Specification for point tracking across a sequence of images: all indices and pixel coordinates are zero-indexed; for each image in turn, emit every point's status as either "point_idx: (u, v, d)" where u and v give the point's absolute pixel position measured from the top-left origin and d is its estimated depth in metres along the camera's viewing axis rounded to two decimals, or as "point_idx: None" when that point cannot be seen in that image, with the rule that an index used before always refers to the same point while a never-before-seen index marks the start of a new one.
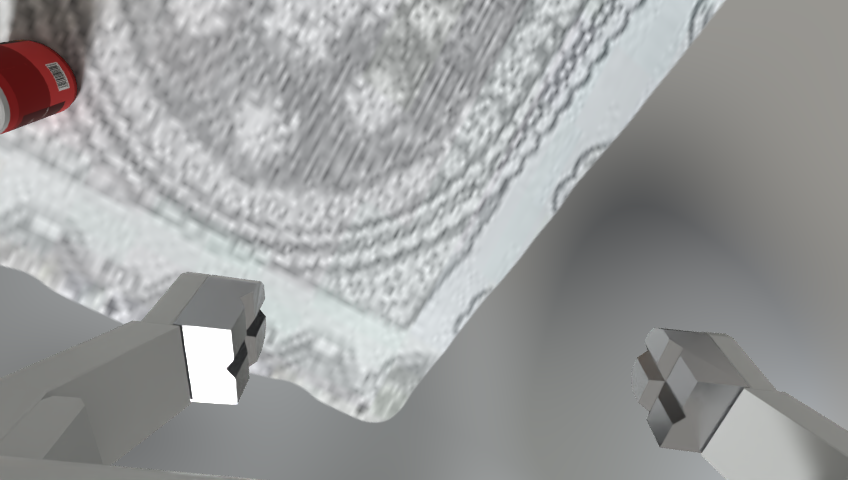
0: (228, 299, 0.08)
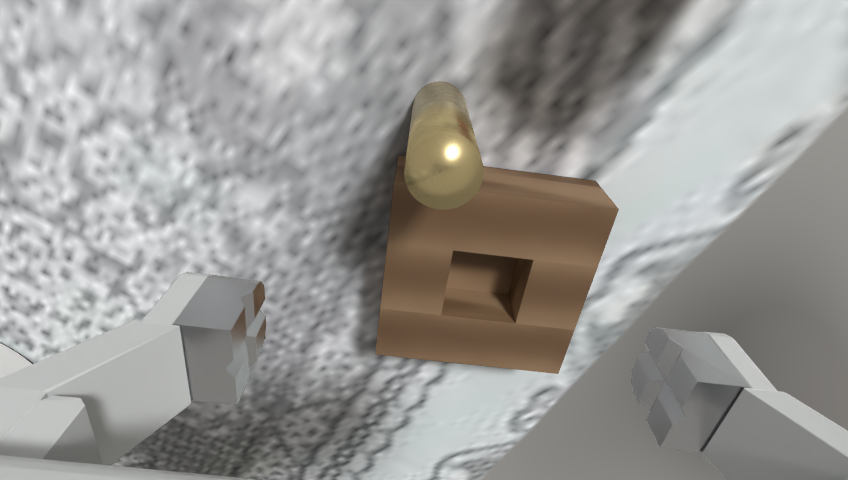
0: (228, 299, 0.08)
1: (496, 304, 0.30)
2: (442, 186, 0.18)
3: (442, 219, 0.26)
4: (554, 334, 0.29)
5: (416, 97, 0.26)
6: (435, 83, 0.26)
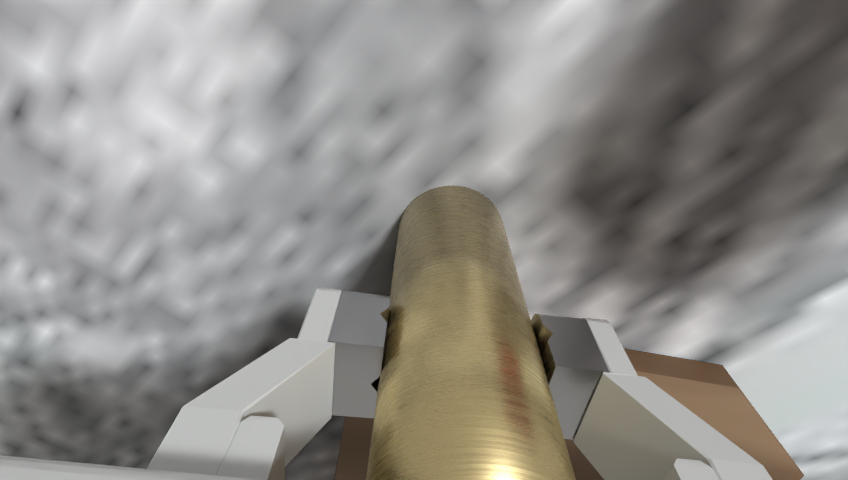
0: (369, 315, 0.09)
1: None
2: None
3: None
4: None
5: (406, 218, 0.12)
6: (447, 192, 0.12)
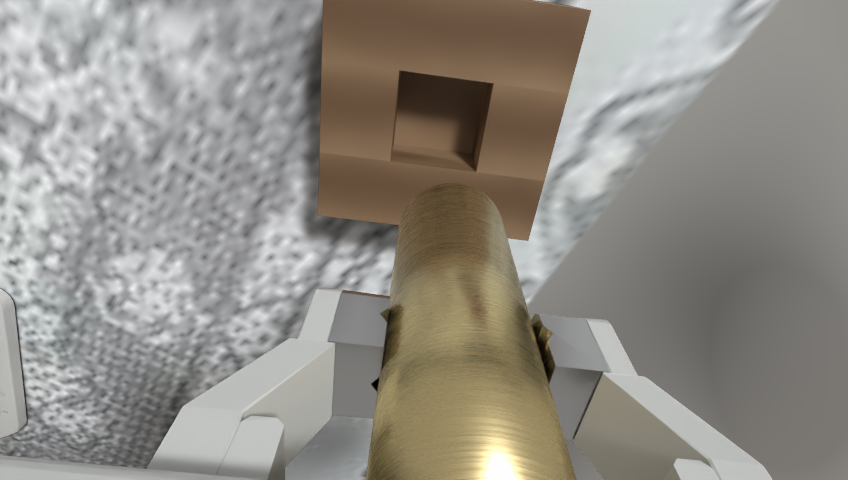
0: (369, 315, 0.09)
1: (456, 158, 0.27)
2: None
3: (384, 26, 0.22)
4: (521, 186, 0.26)
5: (407, 215, 0.13)
6: (447, 189, 0.13)
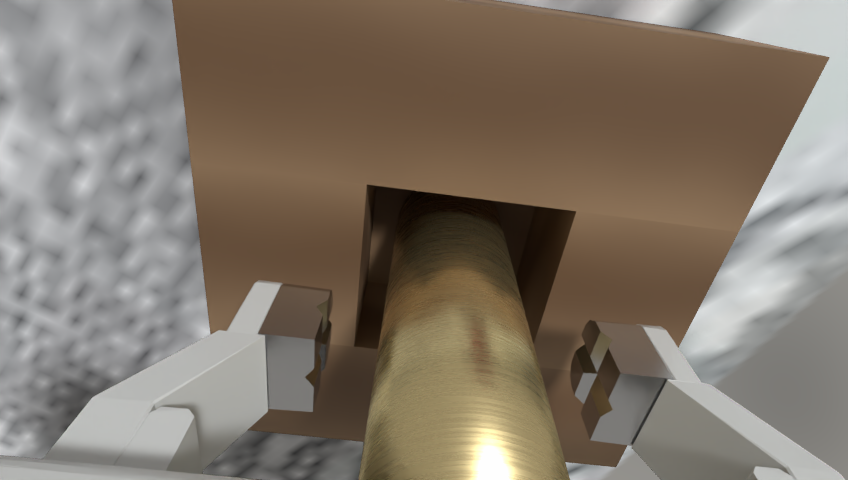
0: (305, 308, 0.09)
1: None
2: None
3: (329, 92, 0.09)
4: None
5: (405, 210, 0.13)
6: None
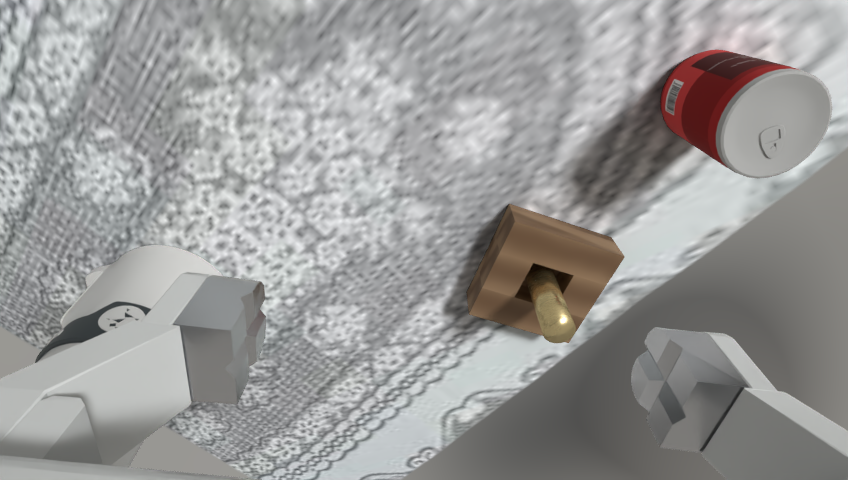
0: (228, 299, 0.08)
1: None
2: (556, 334, 0.44)
3: (533, 245, 0.47)
4: (573, 319, 0.52)
5: None
6: None
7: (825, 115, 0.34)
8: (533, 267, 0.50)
